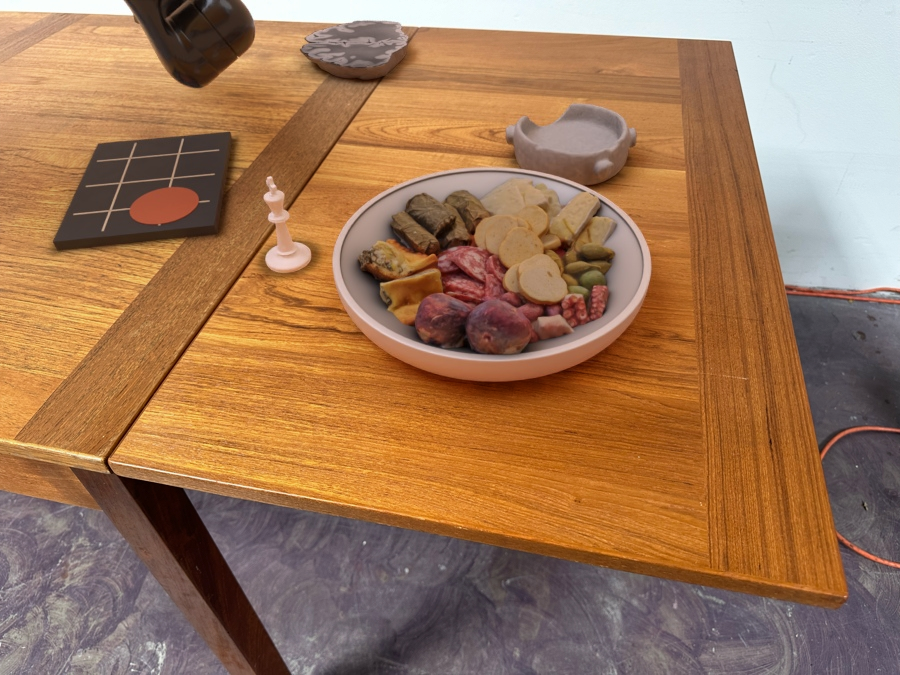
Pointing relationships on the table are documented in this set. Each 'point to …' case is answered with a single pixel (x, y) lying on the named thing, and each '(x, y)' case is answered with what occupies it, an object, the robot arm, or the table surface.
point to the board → (148, 191)
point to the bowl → (491, 272)
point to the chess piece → (283, 236)
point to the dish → (574, 144)
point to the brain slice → (357, 48)
